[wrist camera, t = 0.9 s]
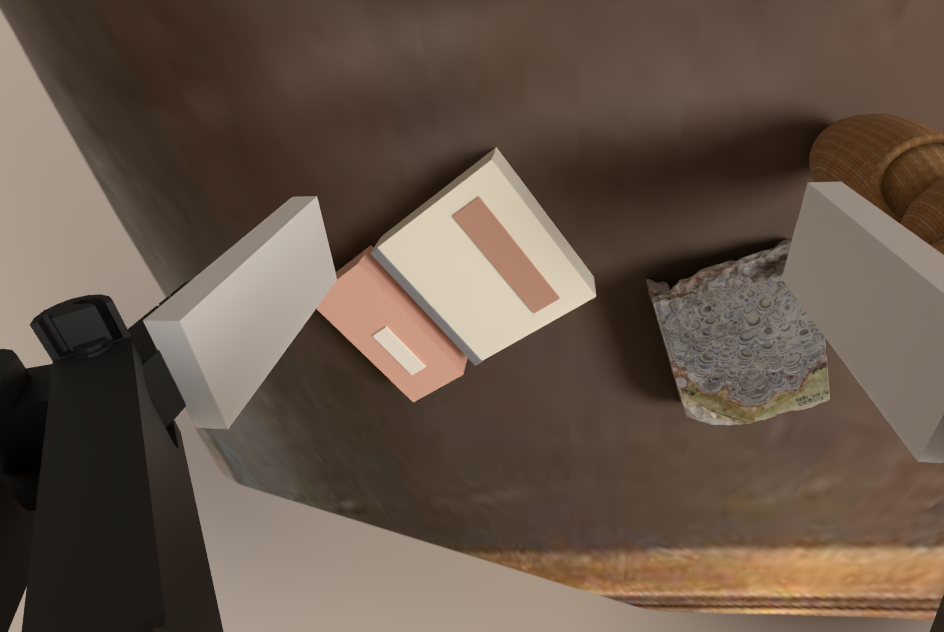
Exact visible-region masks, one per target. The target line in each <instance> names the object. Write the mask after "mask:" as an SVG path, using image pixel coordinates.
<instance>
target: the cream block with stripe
mask: <svg viewBox="0 0 944 632" xmlns="http://www.w3.org/2000/svg"><path fill="white" fill-rule="evenodd" d="M370 254H371V255H372V256H373V257H374V258H375V259H376V260H377V261H378V262H379V263H380V264H381V265H382V266H383V268H384V269H385V270H386V271H387V272H388V273H389V274H390V275H391V276H392V277H393V278H394V279H395V280H396V281H397V282H398V284H399V285H400V286H401V287H402V288H403V289H404V290H405V291H406V292H407V293H408V294H409V295H410V296H411V297H412V299H413V300H414V301H415V302H416V303H417V304H418V305H419V306H420V307H421V308H422V309H423V310H424V311H425V312H426V313H427V315H428V316H429V317H430V318H431V319H432V320H433V321H434V322H435V323H436V324H437V325H438V326H439V327H440V328H441V330H442V331H443V332H444V333H445V334H446V335H447V336H448V337H449V338H450V339H451V340H452V341H453V342H454V343H455V344H456V346H457V347H458V348H459V349H460V350H461V351H462V352H463V353H464V354H465V355H466V356H467V357H468V358H469V359H470V360H471V362H472V363H473V364H474V365H475V366H476V365H478V364H479V363H481V362H482V361H483V360H484V359H486V358H488V357H490V356H491V355H493V354H495V353H497V352H499V351H500V350H502V349H504V348H506V347H507V346H509V345H511V344H513V343H515V342H516V341H518V340H520V339H522V338H523V337H525V336H527V335H529V334H531V333H532V332H534V331H536V330H538V329H539V328H541V327H543V326H545V325H547V324H548V323H550V322H552V321H554V320H555V319H557V318H559V317H561V316H563V315H564V314H566V313H568V312H570V311H571V310H573V309H575V308H577V307H579V306H580V305H582V304H584V303H586V302H587V301H589V300H591V299H593V298H595V297H596V291H595V283H594V276H593V275H592V274H591V272H590V271H589V270H588V268H587V267H586V266H585V264H584V263H583V262H582V260H581V259H580V258H579V256H578V255H577V254H576V252H575V251H574V250H573V248H572V247H571V246H570V244H569V243H568V242H567V240H566V239H565V238H564V236H563V235H562V234H561V232H560V231H559V230H558V228H557V227H556V226H555V224H554V223H553V222H552V220H551V219H550V218H549V216H548V215H547V214H546V212H545V211H544V210H543V208H542V207H541V206H540V204H539V203H538V202H537V200H536V199H535V198H534V196H533V195H532V194H531V192H530V191H529V190H528V188H527V187H526V186H525V184H524V183H523V182H522V180H521V179H520V178H519V177H518V175H517V174H516V173H515V171H514V170H513V169H512V167H511V166H510V165H509V163H508V162H507V161H506V159H505V158H504V157H503V155H502V154H501V153H500V151H499V150H498V149H497V147H496V148H494V149H493V150H492V151H491V152H489V153H488V154H487V155H485V156H484V157H483V158H482V159H480V160H479V161H478V162H476V163H475V164H474V165H473V166H471V167H470V168H469V169H467V170H466V171H465V172H464V173H462V174H461V175H460V176H458V177H457V178H456V179H455V180H453V181H452V182H451V183H449V184H448V185H447V186H446V187H444V188H443V189H442V190H440V191H439V192H438V193H437V194H435V195H434V196H433V197H431V198H430V199H429V200H428V201H426V202H425V203H424V204H422V205H421V206H420V207H419V208H417V209H416V210H415V211H413V212H412V213H411V214H410V215H408V216H407V217H406V218H404V219H403V220H402V221H401V222H399V223H398V224H397V225H395V226H394V227H393V228H392V229H390V230H389V231H388V232H386V233H385V234H384V235H383V236H382V237H381V238H380V239H379V241H378V242H377V244H376V245H375V247H374V248H373V250H372V251H371V253H370Z"/></svg>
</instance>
